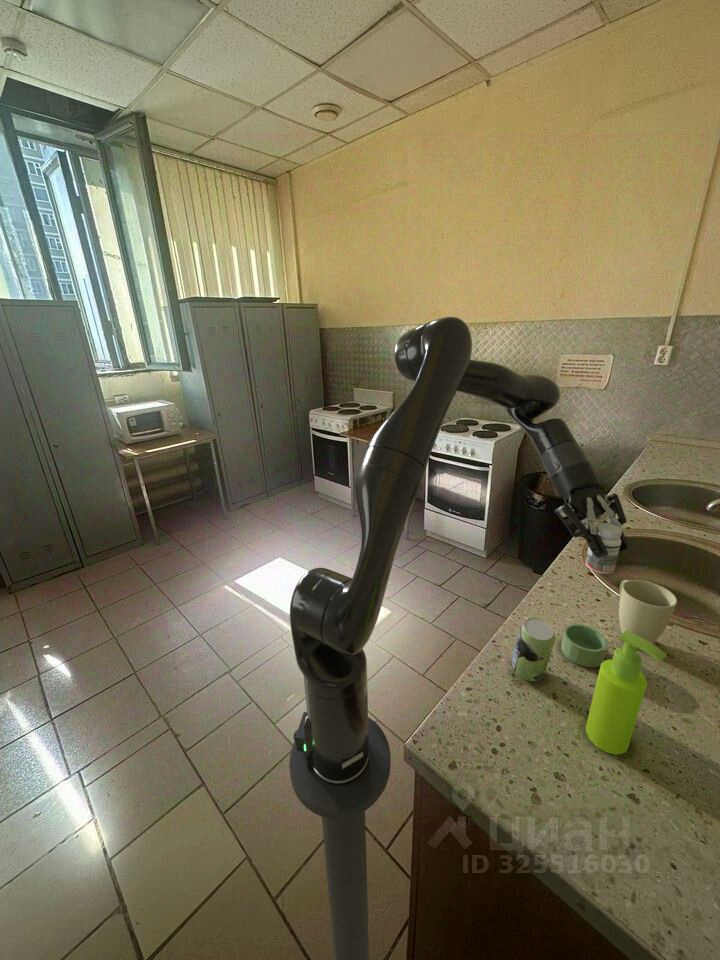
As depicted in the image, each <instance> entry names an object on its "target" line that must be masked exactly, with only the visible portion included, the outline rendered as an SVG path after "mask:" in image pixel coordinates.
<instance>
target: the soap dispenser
mask: <svg viewBox="0 0 720 960" xmlns="http://www.w3.org/2000/svg"><path fill="white" fill-rule="evenodd" d="M618 640H621V641H623V645H622V647H618V648H616V649H615V650H614V652H613V656H612V658H611V659H604V661H603V662H602V664H601V665H600V666H599V671H598V675H597V679H596V683H595V687H594V691H593V696H592V700H591V704H590V708H589V712H588V715H587V716H588V717H587V721H586V725H585V732H586V735H587V737H588V739H589V740H590V742H591V743H592V744H593V745H594V746H596V748H597V749H600V750H601V751H603V752H605V753H607V754H611V755H615V756H618V755H619V756H620V755H624V754H625V753H626V752H627V751H628V749H629V747H630V742H631V739H632V736H633V732H634V729H635V727H636V723H637V719H638V716H639V713H640V711H641V707H642V703H643V701H644V697H645V693H646V690H647V687H648V680H647V678H646V677H645V675H644V674H643V673H642V671H641V667H642V664H643V663H642V662H643V659H642V657H641V656H640V654H639V653H638V650H640V651H642V652H644V653H645V654H646V655H648V656H650V657H651V658H653V660H655V661H657V662H662V661H663V660H664V659H665V658H666V657H667V656H668V654H667V653H666V652H664V650H663V649H661V648H659V647H658V646H656V645H655V644H654V643H653V644H652V643H650V642H649V641H647V640H645V639H643V638H641V637H639V636H637V635H635V634H633V633H631V632H629V631H627V630H626V631H625V632H623V633H622V632H621V633H620V635H619V636H618Z"/></svg>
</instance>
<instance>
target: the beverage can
mask: <svg viewBox="0 0 720 960" xmlns="http://www.w3.org/2000/svg"><path fill="white" fill-rule="evenodd" d="M555 642H556V635H555V632H554V629H553V627H552V626H551V624H550V623H548V622H547V621H545V619H541V618H538V617H529V618H527V619H526V620H525V621H523V622H522V623H521V624H520V625H519V628H518V632H517V636H516V640H515V644H514V648H513V652H512V656H511V660H510V664H511V665H510V666H511V668H512V670H513V671H514V673H515V674H516V675H517V676H518V677H519V678H521V679H522V680H525V681H528V682H539V681H541V680H542V679H543V678H544V677H545V673H546V672H547V671H546V670H547V667H548V664H549V662H550V659H551V655H552V652H553V649H554V647H555Z"/></svg>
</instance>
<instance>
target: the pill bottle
mask: <svg viewBox="0 0 720 960" xmlns="http://www.w3.org/2000/svg"><path fill="white" fill-rule="evenodd" d="M595 528H596V532H597V533H596V535H598V534H599V536H600V538H601V540H602V542H603V544H604V546H605V548H606V549H607V551H608V555H606V556H603V557H600V558H597V557H596V556H595V555H594V554H593V553H592V551H591V549H590V547H589V546H588V547H587V553H586V558H585V566H586V568H588V569H589V570H591V571H593V572H595V573H599V574H603V575H609V574H612V573H613V572H615V570H616V565H617V561H618V557H619V553H620V552H619V550H620V546H621V539H620V537H621V533H622V532H623V528H622V527H621V528H620V527H619V526H617V525H614V524H611V523H610V522H608V523H595Z"/></svg>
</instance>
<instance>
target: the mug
mask: <svg viewBox="0 0 720 960" xmlns="http://www.w3.org/2000/svg"><path fill="white" fill-rule="evenodd" d="M677 604H678V599H677V596H676V595H675V594H674V593H673V592H672V591H670V590H669V589H667V588H666V587H663V586H661V585H660V584H657V583H654V582H650V581H646V580H642V579H641V580H640V579H624V580H622V581H621V582H620V586H619V605H618V619H619V626H620V631H621V634H622V633H623V632H625V631H626V630H627V631H629V632H631V633H633V634H635V635H637V636H639V637H641V638H643V639H645V640H647V641H649V642H650V643H652V644H654V643H655V642H656V641H657V640H658V639H659V638H660V637H661V636H662V635H663V633H664V632H665V630H666V629H667V627H668V625H669V623H670V621H671V618H672V615H673V614H674V611H675V609H676V606H677Z"/></svg>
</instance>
